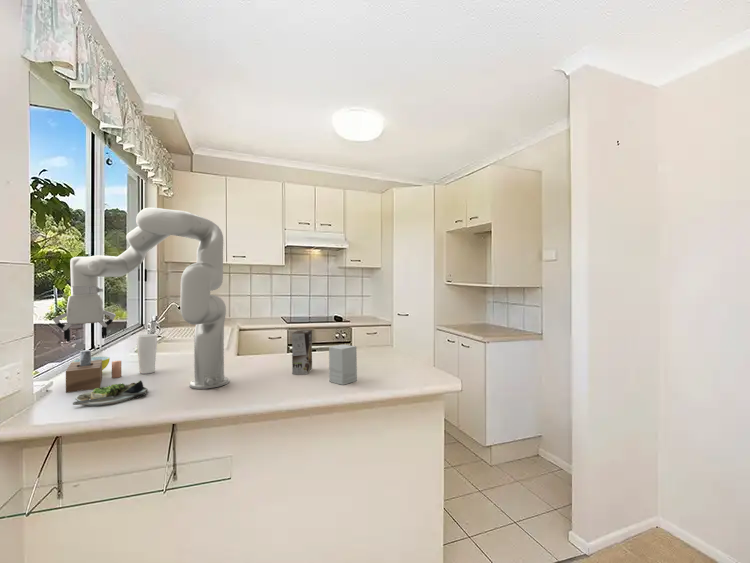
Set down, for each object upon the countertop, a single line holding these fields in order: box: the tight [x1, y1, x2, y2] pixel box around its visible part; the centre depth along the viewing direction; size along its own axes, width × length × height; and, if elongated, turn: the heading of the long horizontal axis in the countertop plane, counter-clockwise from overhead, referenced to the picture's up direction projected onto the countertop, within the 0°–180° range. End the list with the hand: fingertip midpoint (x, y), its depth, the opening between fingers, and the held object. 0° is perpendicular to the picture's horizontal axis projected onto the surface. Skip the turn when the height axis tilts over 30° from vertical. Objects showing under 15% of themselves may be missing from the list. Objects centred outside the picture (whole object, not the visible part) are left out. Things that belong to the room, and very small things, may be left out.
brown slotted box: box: [65, 359, 103, 393], centre depth 128 cm, size 16×9×7 cm, turn 35°
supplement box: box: [328, 344, 358, 386], centre depth 130 cm, size 7×7×13 cm
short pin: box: [111, 360, 122, 379], centre depth 138 cm, size 3×3×6 cm
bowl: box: [72, 356, 111, 371], centre depth 141 cm, size 11×12×6 cm
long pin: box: [79, 349, 92, 367], centre depth 128 cm, size 3×3×12 cm
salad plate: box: [72, 380, 149, 407], centre depth 112 cm, size 19×18×5 cm
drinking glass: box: [136, 333, 158, 375], centre depth 144 cm, size 7×7×15 cm
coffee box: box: [291, 329, 313, 375], centre depth 144 cm, size 9×6×16 cm
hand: (86, 339), depth 128 cm, fingers open, 9 cm apart
